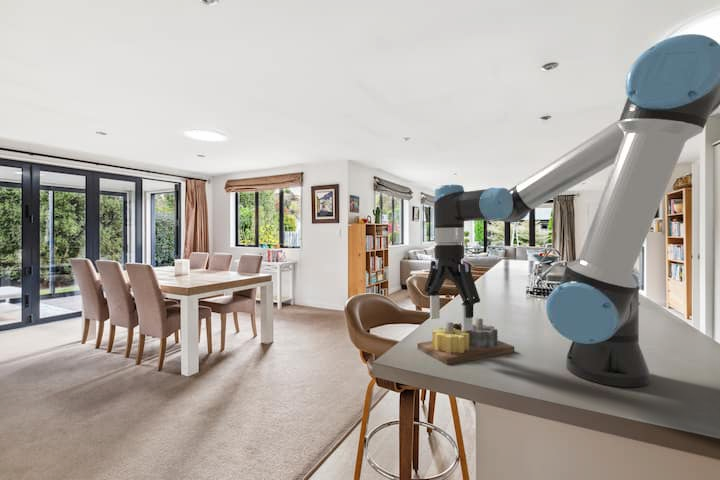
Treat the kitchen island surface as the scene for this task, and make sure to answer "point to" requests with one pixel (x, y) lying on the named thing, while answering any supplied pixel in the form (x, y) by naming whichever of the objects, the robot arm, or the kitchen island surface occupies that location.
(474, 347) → the gear board
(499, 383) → the kitchen island surface
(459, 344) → the mustard gear
